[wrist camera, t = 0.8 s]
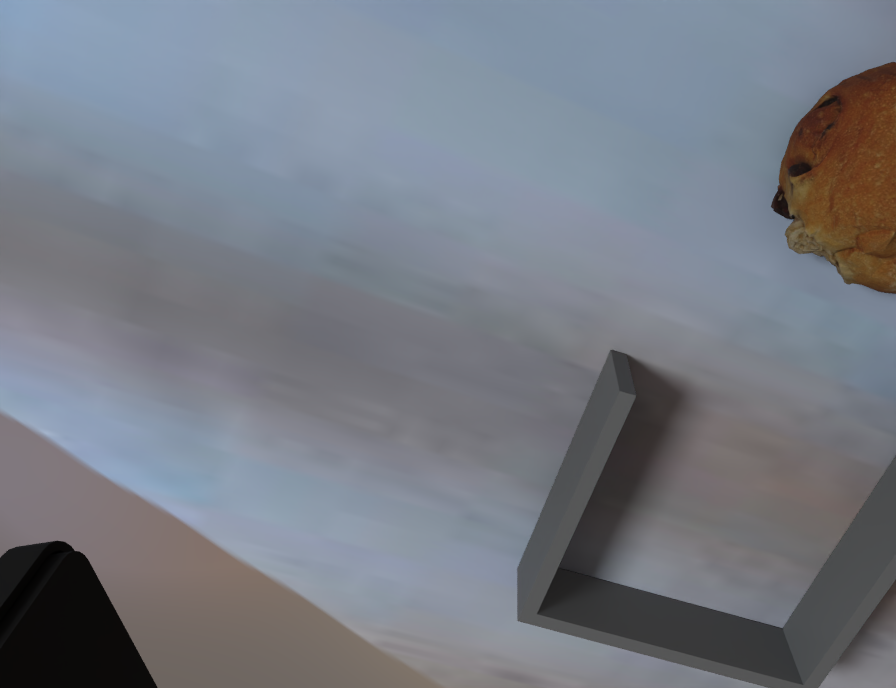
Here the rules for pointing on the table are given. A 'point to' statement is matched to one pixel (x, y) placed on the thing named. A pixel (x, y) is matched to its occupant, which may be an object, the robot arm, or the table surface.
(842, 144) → the bread roll
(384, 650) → the table surface
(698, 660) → the bin
